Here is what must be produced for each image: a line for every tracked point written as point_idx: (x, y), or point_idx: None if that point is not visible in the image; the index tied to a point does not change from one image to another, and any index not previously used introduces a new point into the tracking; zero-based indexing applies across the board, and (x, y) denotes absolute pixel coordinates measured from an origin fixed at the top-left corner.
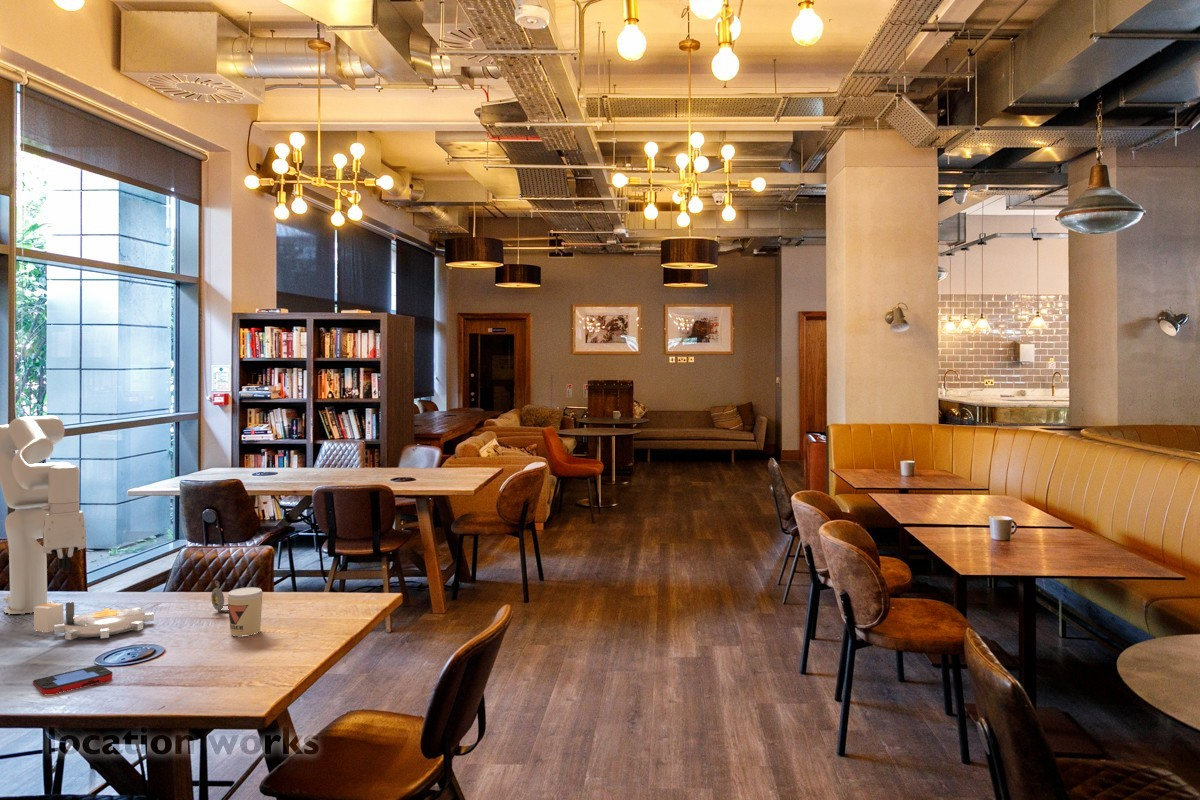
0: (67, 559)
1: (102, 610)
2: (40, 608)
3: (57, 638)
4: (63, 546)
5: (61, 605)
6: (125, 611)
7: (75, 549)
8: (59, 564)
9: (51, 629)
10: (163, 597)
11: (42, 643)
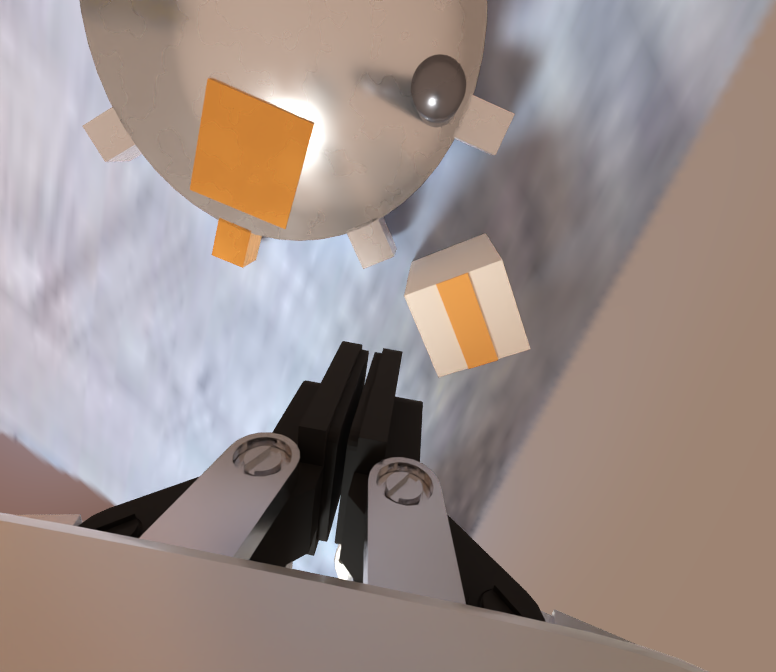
0: (325, 411)
1: (245, 244)
2: (516, 305)
3: (504, 86)
4: (350, 617)
5: (415, 288)
6: (160, 122)
7: (126, 527)
8: (417, 424)
9: (469, 241)
10: (21, 373)
11: (589, 49)
